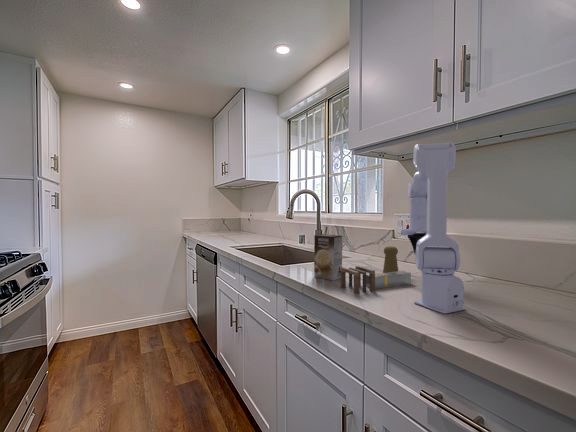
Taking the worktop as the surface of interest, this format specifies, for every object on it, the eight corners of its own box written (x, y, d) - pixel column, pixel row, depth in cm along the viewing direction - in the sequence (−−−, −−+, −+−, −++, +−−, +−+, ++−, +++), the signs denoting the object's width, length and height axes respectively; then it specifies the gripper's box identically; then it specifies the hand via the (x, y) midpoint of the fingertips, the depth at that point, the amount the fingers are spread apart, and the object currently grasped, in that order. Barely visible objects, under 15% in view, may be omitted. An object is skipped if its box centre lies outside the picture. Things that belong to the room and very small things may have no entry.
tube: (402, 281, 104) (402, 270, 103) (410, 283, 100) (410, 272, 100) (366, 286, 97) (366, 274, 97) (373, 289, 94) (373, 276, 94)
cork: (396, 276, 110) (396, 248, 110) (380, 274, 114) (380, 246, 114) (400, 274, 115) (400, 246, 115) (385, 272, 119) (385, 245, 118)
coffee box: (313, 277, 111) (313, 235, 110) (322, 274, 115) (322, 233, 115) (333, 280, 105) (333, 236, 104) (343, 277, 109) (342, 235, 109)
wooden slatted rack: (375, 291, 91) (375, 270, 91) (356, 293, 88) (356, 272, 88) (358, 284, 99) (358, 265, 99) (340, 287, 96) (340, 267, 96)
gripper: (423, 216, 110) (423, 252, 110) (394, 216, 104) (394, 254, 105) (440, 216, 104) (440, 254, 104) (409, 217, 98) (409, 257, 98)
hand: (418, 254), depth 104 cm, fingers closed
